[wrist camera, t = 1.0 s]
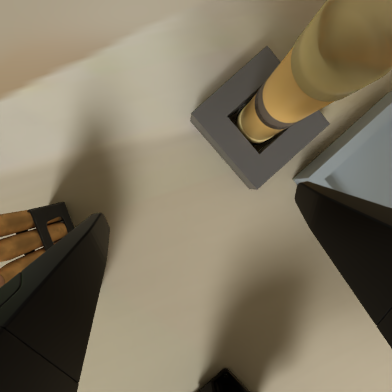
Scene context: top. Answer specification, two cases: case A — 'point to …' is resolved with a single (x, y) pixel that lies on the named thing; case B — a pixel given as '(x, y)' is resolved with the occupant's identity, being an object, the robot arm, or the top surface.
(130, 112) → the top surface
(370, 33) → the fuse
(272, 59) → the block
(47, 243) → the ammunition clip
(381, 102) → the parts tray
